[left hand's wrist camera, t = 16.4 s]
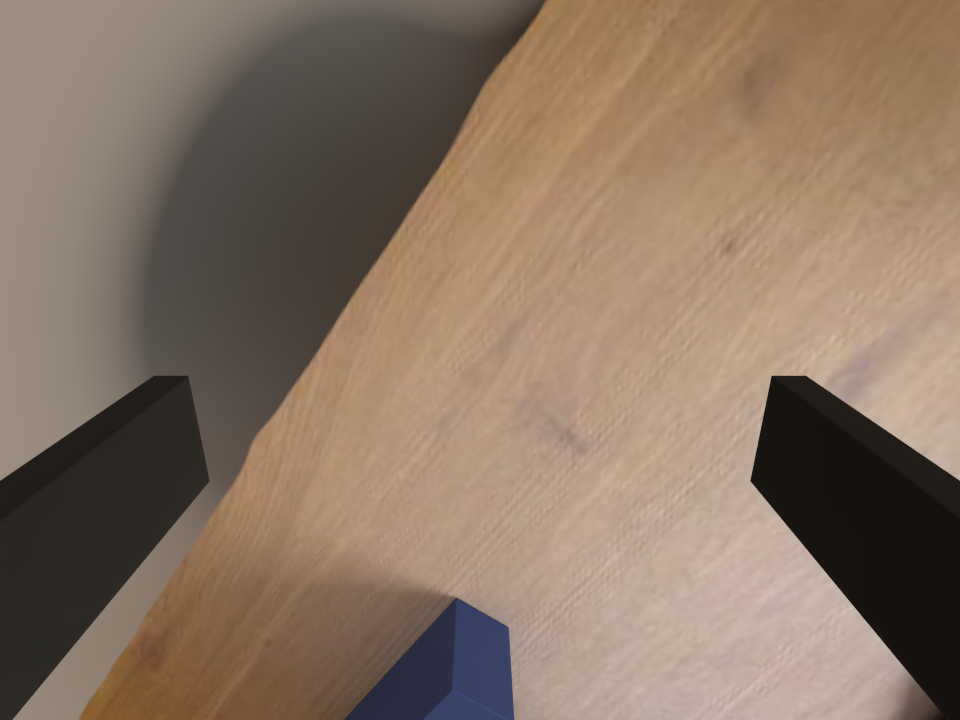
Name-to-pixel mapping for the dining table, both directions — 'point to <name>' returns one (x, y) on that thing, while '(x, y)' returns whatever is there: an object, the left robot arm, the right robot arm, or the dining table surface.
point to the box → (448, 673)
